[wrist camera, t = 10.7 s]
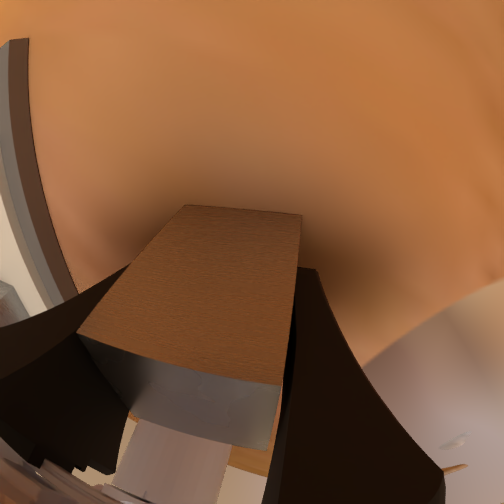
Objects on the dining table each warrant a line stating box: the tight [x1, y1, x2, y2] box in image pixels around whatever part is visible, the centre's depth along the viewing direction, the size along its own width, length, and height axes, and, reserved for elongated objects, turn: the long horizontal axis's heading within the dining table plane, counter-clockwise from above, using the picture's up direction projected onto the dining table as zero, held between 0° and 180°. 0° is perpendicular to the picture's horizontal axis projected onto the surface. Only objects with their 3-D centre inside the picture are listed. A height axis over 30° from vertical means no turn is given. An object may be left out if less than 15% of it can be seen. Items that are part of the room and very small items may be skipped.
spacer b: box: [76, 205, 302, 451], centre depth 8 cm, size 4×4×6 cm
